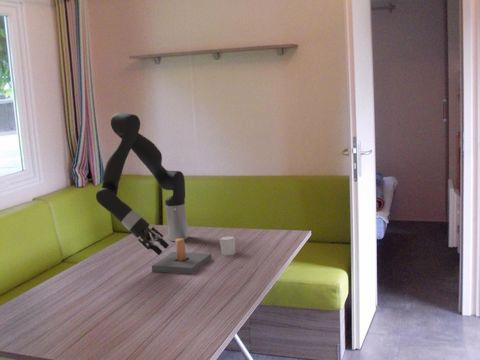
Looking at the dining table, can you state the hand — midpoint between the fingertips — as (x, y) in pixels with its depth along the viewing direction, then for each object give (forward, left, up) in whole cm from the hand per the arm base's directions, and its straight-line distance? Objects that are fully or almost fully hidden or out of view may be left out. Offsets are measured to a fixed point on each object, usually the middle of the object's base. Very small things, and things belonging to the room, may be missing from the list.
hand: (164, 250), depth 232 cm
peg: (-1, +7, -7) cm, 10 cm away
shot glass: (-19, +20, -7) cm, 29 cm away
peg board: (-1, +7, -7) cm, 10 cm away
